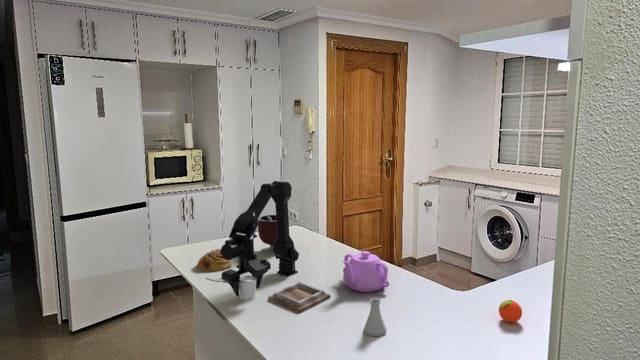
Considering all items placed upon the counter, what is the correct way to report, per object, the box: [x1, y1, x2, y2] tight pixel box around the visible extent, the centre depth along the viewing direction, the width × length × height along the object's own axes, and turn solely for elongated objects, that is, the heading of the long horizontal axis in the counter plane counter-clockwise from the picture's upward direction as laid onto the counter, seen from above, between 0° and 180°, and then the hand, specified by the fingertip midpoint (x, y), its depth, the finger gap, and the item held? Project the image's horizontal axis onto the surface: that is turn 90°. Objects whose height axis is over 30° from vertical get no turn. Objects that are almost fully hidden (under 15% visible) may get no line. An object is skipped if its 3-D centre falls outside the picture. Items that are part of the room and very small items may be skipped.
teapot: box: [342, 250, 390, 293], centre depth 166 cm, size 22×22×14 cm
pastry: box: [196, 248, 232, 273], centre depth 191 cm, size 13×15×8 cm
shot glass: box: [239, 274, 257, 301], centre depth 159 cm, size 7×7×7 cm
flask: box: [363, 298, 387, 337], centre depth 133 cm, size 7×7×10 cm
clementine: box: [498, 299, 523, 324], centre depth 138 cm, size 8×7×7 cm
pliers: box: [206, 276, 228, 283], centre depth 177 cm, size 10×2×15 cm
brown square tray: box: [267, 281, 331, 314], centre depth 157 cm, size 16×16×3 cm
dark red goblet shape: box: [257, 214, 277, 257], centre depth 208 cm, size 16×14×20 cm
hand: (247, 292), depth 160 cm, fingers open, 9 cm apart
